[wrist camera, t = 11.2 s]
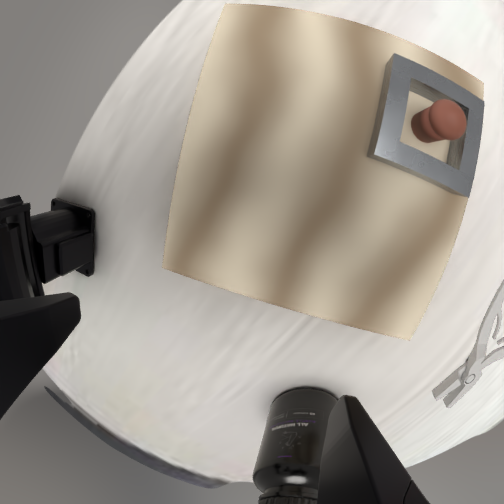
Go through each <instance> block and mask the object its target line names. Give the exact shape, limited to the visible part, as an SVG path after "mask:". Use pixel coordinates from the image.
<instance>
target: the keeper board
mask: <svg viewBox="0 0 504 504" xmlns="http://www.w3.org/2000/svg"><path fill="white" fill-rule="evenodd" d="M394 53H396V54H398V55H400V56H403V57H405V58H407V59H410V60H412V61H414V62H416V63H418V64H421V65H423V66H425V67H427V68H429V69H431V70H433V71H435V72H437V73H438V74H440V75H442V76H444V77H446V78H448V79H449V80H451V81H453V82H455V83H456V84H458V85H460V86H461V87H463V88H465V89H466V90H468V91H469V92H471V93H472V94H474V95H475V96H477V97H478V98H480V99H481V100H483V93H484V83H483V82H481V81H480V80H479V79H477V78H476V77H474V76H472V75H471V74H469V73H468V72H466V71H465V70H463V69H461V68H460V67H458V66H456V65H454V64H453V63H451V62H449V61H447V60H446V59H444V58H442V57H440V56H438V55H436V54H434V53H432V52H430V51H428V50H426V49H424V48H422V47H420V46H418V45H415V44H413V43H411V42H409V41H406V40H404V39H402V38H399V37H397V36H394V35H392V34H389V33H386V32H384V31H381V30H378V29H375V28H372V27H369V26H366V25H363V24H359V23H356V22H353V21H349V20H345V19H342V18H338V17H333V16H329V15H325V14H320V13H315V12H310V11H304V10H298V9H292V8H284V7H276V6H266V5H252V4H225V5H224V7H223V10H222V13H221V15H220V18H219V20H218V23H217V26H216V29H215V31H214V34H213V37H212V40H211V43H210V46H209V49H208V52H207V55H206V58H205V61H204V65H203V68H202V71H201V74H200V78H199V81H198V85H197V88H196V92H195V95H194V99H193V103H192V107H191V110H190V114H189V118H188V122H187V126H186V131H185V135H184V139H183V144H182V148H181V153H180V158H179V162H178V167H177V172H176V178H175V183H174V188H173V194H172V200H171V206H170V212H169V218H168V225H167V232H166V239H165V247H164V255H163V264H162V268H164V269H167V270H170V271H172V272H175V273H178V274H181V275H184V276H187V277H190V278H192V279H195V280H198V281H201V282H204V283H207V284H210V285H213V286H216V287H219V288H222V289H225V290H228V291H232V292H235V293H238V294H241V295H244V296H247V297H250V298H254V299H257V300H260V301H263V302H267V303H270V304H273V305H277V306H280V307H283V308H287V309H290V310H293V311H297V312H300V313H304V314H307V315H311V316H314V317H318V318H322V319H325V320H329V321H333V322H336V323H340V324H344V325H348V326H351V327H355V328H359V329H363V330H367V331H371V332H375V333H379V334H383V335H387V336H391V337H396V338H400V339H404V340H409V341H410V339H411V338H412V336H413V334H414V332H415V331H416V329H417V327H418V325H419V323H420V321H421V319H422V317H423V315H424V313H425V311H426V309H427V307H428V305H429V303H430V301H431V299H432V297H433V295H434V293H435V291H436V288H437V286H438V284H439V282H440V279H441V277H442V274H443V272H444V270H445V267H446V265H447V262H448V260H449V257H450V254H451V252H452V249H453V246H454V243H455V240H456V237H457V234H458V231H459V228H460V225H461V222H462V219H463V215H464V212H465V208H466V205H467V201H468V198H467V197H463V196H459V195H454V194H452V193H450V192H448V191H446V190H444V189H442V188H440V187H438V186H436V185H434V184H432V183H429V182H427V181H425V180H423V179H421V178H418V177H416V176H414V175H412V174H409V173H407V172H405V171H402V170H400V169H398V168H395V167H393V166H390V165H388V164H385V163H382V162H380V161H377V160H375V159H372V158H369V157H366V156H367V152H368V148H369V144H370V140H371V136H372V132H373V127H374V123H375V119H376V114H377V109H378V104H379V99H380V94H381V89H382V84H383V78H384V72H385V66H386V64H387V62H388V61H389V59H390V58H391V56H392V55H393V54H394ZM466 125H467V123H466V117H465V114H464V112H463V110H462V109H461V108H460V106H459V105H457V104H456V103H455V102H453V101H451V100H447V99H440V100H437V101H436V102H432V101H430V100H428V99H426V98H424V97H422V96H420V95H418V94H416V93H414V92H411V91H409V96H408V102H407V108H406V113H405V119H404V124H403V129H402V133H401V138H400V142H402V143H404V144H407V145H409V146H411V147H413V148H416V149H418V150H420V151H422V152H424V153H426V154H428V155H430V156H432V157H434V158H436V159H438V160H440V161H442V162H444V163H446V160H447V155H448V150H449V145H450V140H456V139H458V138H460V137H461V136H462V135H463V134H464V132H465V130H466Z"/></svg>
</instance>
